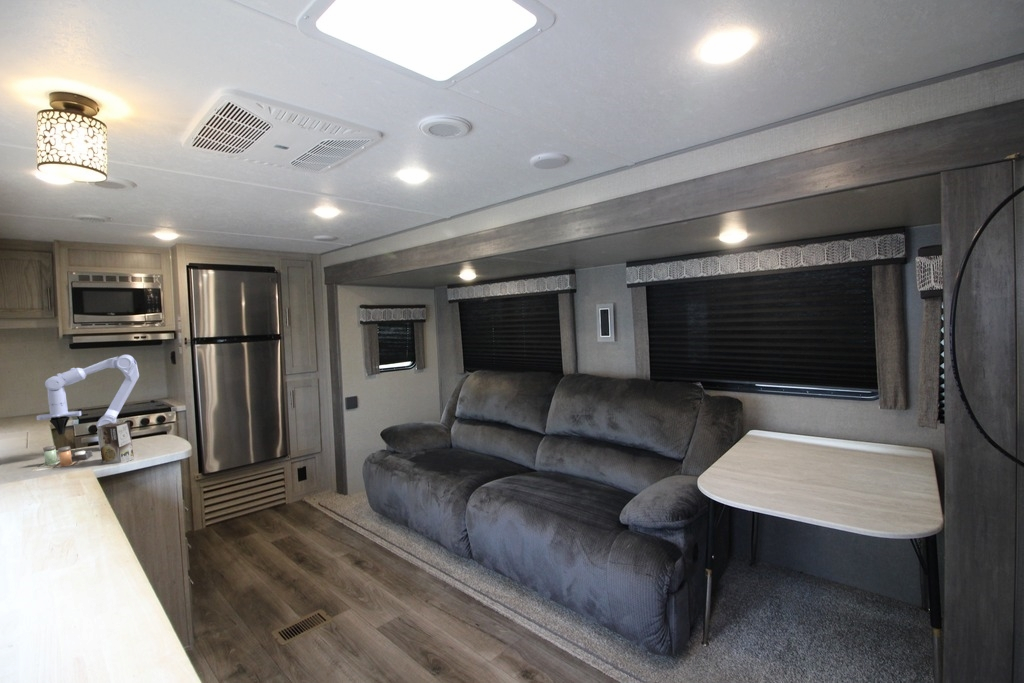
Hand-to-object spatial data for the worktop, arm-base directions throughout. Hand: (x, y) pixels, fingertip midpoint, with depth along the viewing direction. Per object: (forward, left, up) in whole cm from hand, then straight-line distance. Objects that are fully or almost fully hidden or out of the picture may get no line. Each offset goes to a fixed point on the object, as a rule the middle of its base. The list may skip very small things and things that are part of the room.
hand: (61, 434), depth 209 cm
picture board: (-4, +14, -10) cm, 18 cm away
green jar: (0, +11, -10) cm, 15 cm away
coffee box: (-25, +21, -11) cm, 34 cm away
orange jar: (-7, +17, -10) cm, 20 cm away
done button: (-9, +10, -11) cm, 17 cm away
